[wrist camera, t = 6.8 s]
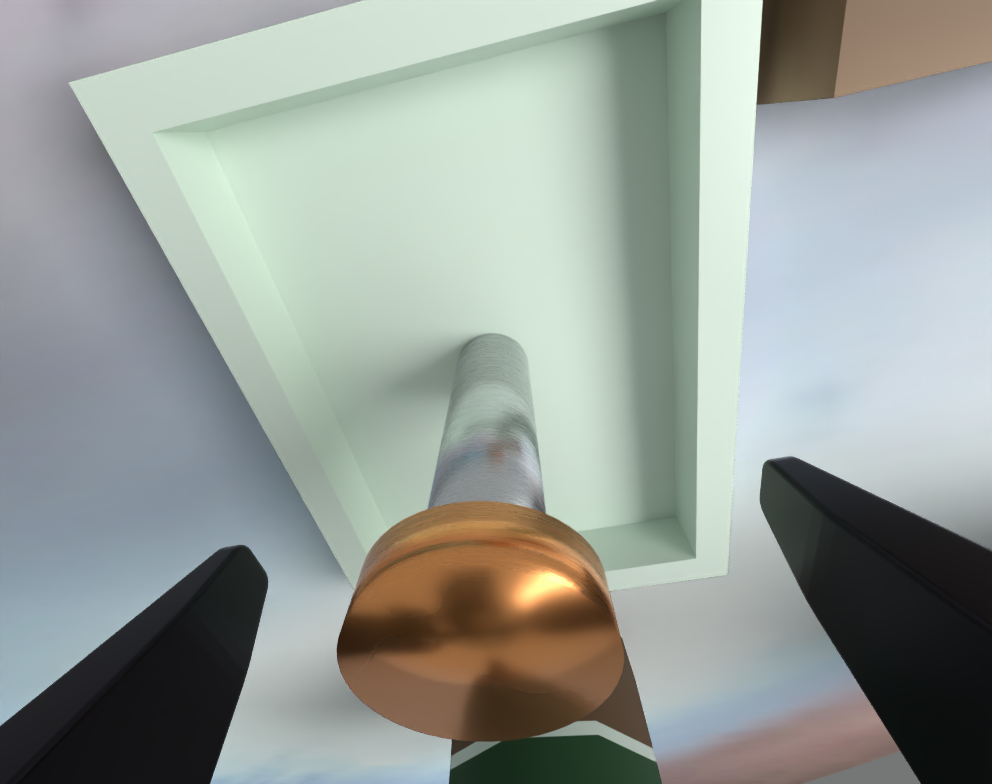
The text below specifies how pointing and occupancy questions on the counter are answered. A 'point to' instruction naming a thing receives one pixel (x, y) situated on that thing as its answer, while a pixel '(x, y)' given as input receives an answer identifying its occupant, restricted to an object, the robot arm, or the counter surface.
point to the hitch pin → (483, 583)
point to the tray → (469, 246)
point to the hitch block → (865, 44)
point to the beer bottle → (569, 749)
